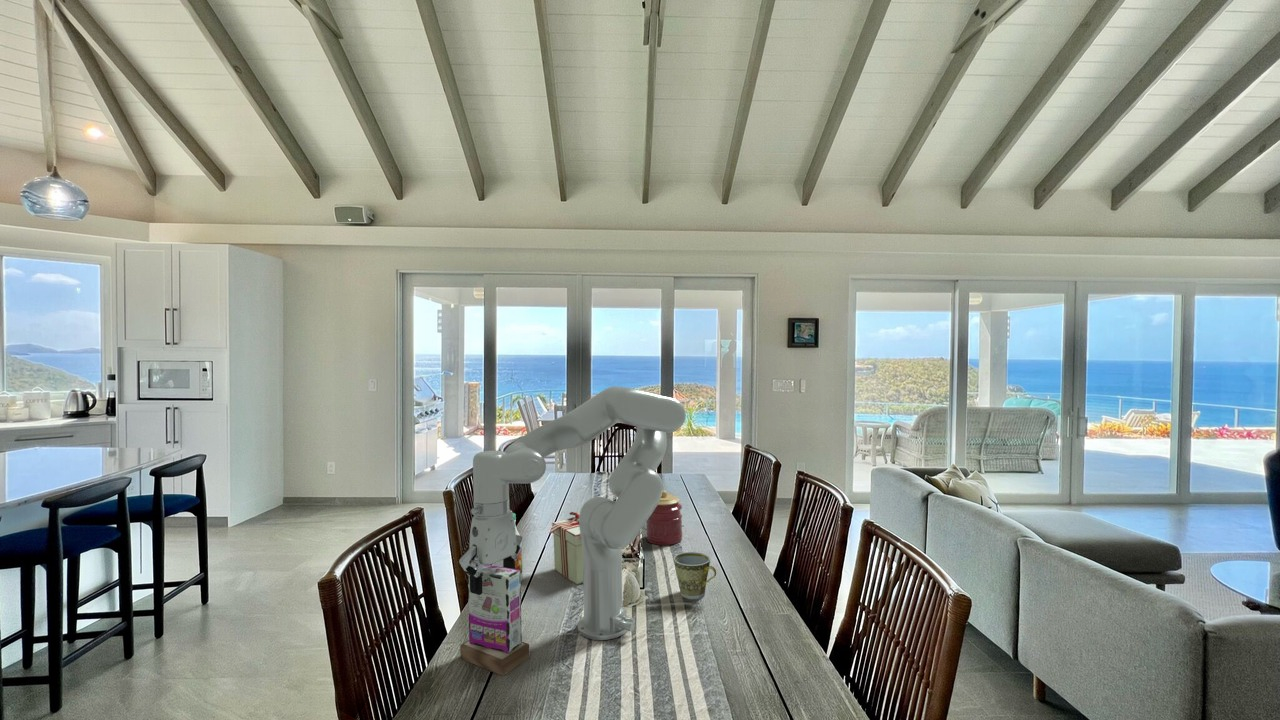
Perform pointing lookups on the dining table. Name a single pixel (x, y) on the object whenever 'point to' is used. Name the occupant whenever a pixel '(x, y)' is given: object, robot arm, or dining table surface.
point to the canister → (665, 521)
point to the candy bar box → (496, 610)
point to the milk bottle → (519, 556)
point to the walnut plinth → (494, 657)
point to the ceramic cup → (692, 573)
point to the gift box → (568, 548)
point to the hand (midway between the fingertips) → (493, 584)
